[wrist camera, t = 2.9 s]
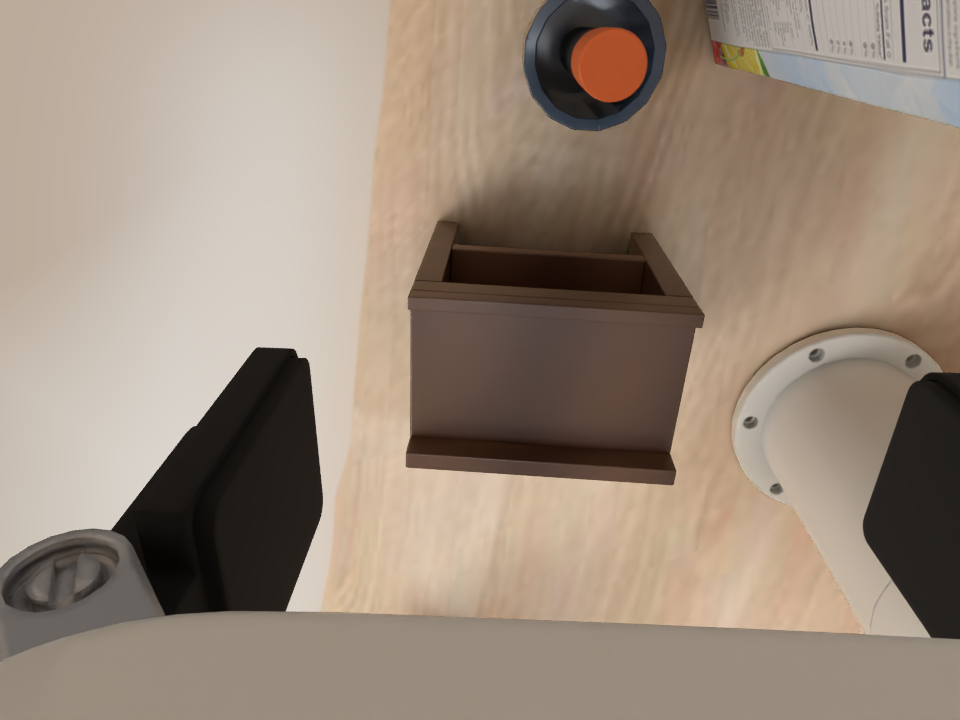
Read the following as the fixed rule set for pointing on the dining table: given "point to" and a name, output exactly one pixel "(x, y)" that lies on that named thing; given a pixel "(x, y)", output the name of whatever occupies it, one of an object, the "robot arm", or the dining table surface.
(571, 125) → the pen cup
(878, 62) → the snack box
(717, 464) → the dining table surface
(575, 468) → the shelf
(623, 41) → the marker
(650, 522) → the dining table surface
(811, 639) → the robot arm
